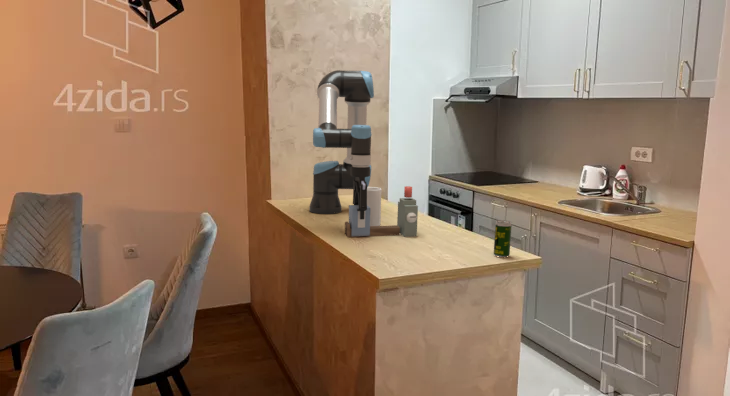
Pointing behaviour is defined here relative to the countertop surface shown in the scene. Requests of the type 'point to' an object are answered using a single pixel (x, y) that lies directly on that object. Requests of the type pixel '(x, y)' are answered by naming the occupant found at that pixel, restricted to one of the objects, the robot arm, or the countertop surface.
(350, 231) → the rail
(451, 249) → the countertop surface
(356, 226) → the block
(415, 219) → the grey upright block
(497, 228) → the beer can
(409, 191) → the plunger
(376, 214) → the cup
